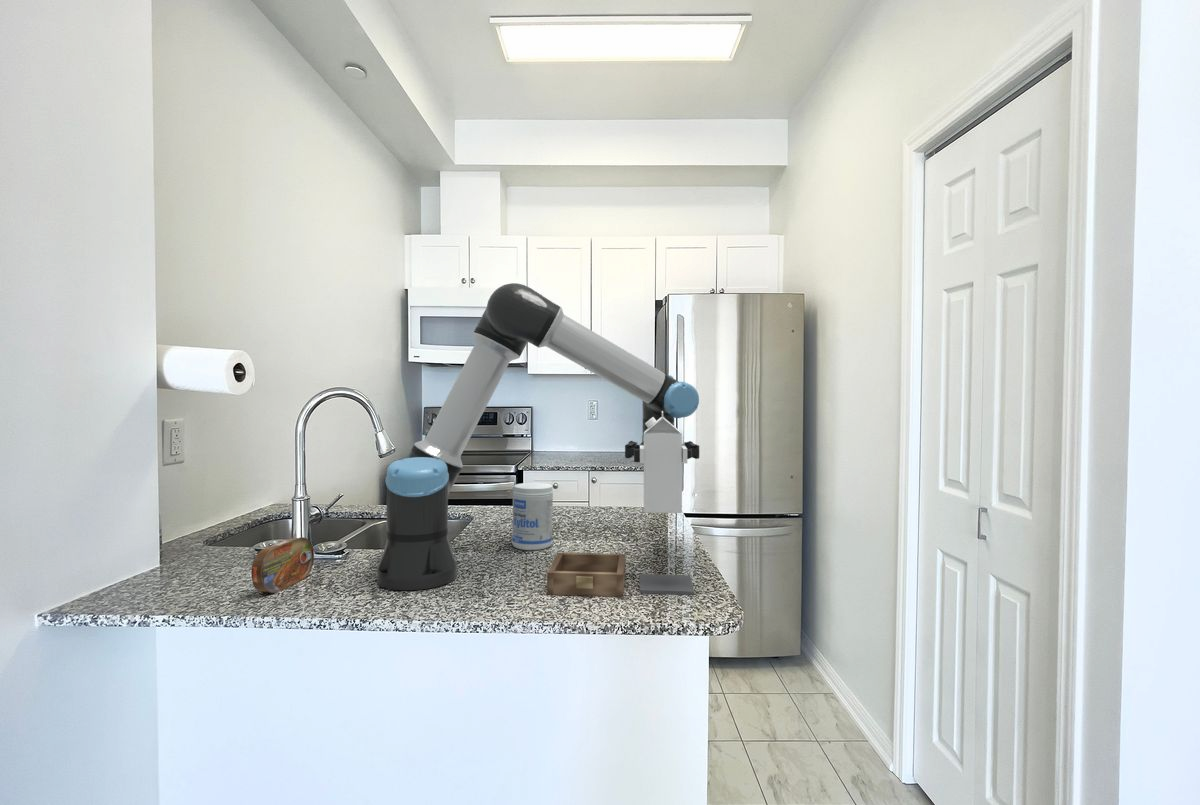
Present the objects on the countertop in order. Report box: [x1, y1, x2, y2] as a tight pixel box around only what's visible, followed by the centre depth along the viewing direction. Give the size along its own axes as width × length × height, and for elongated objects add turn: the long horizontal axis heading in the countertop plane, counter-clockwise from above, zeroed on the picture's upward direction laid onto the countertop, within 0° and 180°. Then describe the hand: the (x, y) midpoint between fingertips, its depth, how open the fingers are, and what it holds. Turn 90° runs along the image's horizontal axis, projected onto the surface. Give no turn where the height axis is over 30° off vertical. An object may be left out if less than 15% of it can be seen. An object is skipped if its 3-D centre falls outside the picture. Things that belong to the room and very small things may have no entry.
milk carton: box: [643, 411, 683, 514], centre depth 116 cm, size 7×7×19 cm
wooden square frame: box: [546, 552, 627, 598], centre depth 117 cm, size 14×15×4 cm
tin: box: [251, 536, 315, 594], centre depth 116 cm, size 15×3×8 cm, turn 171°
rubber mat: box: [639, 573, 695, 596], centre depth 117 cm, size 10×10×1 cm
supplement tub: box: [511, 482, 554, 551], centre depth 146 cm, size 10×10×15 cm
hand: (663, 455), depth 112 cm, fingers closed on milk carton, 7 cm apart
